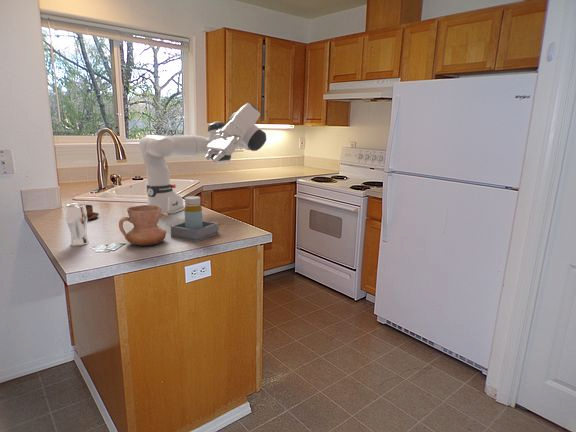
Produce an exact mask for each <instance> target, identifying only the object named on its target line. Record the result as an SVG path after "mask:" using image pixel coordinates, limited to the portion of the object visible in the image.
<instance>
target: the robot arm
mask: <svg viewBox="0 0 576 432" xmlns="http://www.w3.org/2000/svg"><path fill="white" fill-rule="evenodd" d="M260 116H261V112H260V110H259V109H258V108H257V107H256V106H254V105H253V104H252V103H249V102H246V103H245V104H244V105H242V106H241V107H240V108H239V109H238V110H237V111H235V112H233V113H232V114H231V115H230V117H229V118H228V119H227V122H226V123H225V122H222V121H214V122H212V123H209V124H208V126H207V133H208V137H206V136H202V135H195V134H194V135H191V134H190V135H187V134H184V135H183V134H182V135H181V134H180V135H179V134H178V135H174V134H173V135H157V134H155V135H154V134H147V135H145V136H144V137H142V138H141V139H140V140H139V144H138V147H139V149H140V151H141V154H142V158H143V162H144V165H145V170H146V183H147V184H146V193H147V198H146V199H147V200H146V201H147V202H146V205H158V206H160V207H161V214H162V213H167V214H175V213H178V212H180V211H184V208H185V204H184V200H183V197H182V196H181V195H179V194H178V193H177V192H175V191H174V189H176V188H177V185H176V184H174V183H172V184H171V180H170V169H169V166H168V164H167V161H166V159H171V158H172V159H173V158H180V157H181V158H182V157H184V158H185V157H199V156H204V155H205V156H204V159H205V160H206V161H209V160H210V159H211V160H212V161H213V162H214V163H218V164H224V163H228V162H230V160H231V159H232V154H233V153H234V152H235V151H236V150H237V149H244V150H247V151H253V152H257V151H259V150H260V149H262V148H263V146H264V145H265V143H266V141H267V133H266V132H265V131H263V130H262V129H260V128H259V127H258V126H257V125H256V123H257V121H258V120H259V118H260Z"/></svg>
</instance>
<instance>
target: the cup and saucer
mask: <svg viewBox="0 0 576 432" xmlns="http://www.w3.org/2000/svg"><path fill="white" fill-rule="evenodd" d="M85 206H86V211H87V221H90V220H93V219H94V220H95V219H96V218H97V217H99V216H100V215H99V212H94V210H93V209H94V208H93V205H92V204H85Z"/></svg>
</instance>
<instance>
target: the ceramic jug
mask: <svg viewBox="0 0 576 432" xmlns="http://www.w3.org/2000/svg"><path fill="white" fill-rule="evenodd" d="M126 211H127V214H128V216H124V217H121V218H120V220H119V221H118V228H119V231H120V232H121V234H122V235H123V236H124V238H125V240H126V241H127V242H128V243H129V244H132V245H134V246H139V247H145V246H146V247H148V246H155V245H158V244H159V243H161V242H163V241H164V240H165V239H166V236H167V235H166V234H167V230H165V229H164V228H162V227H160V226H159V225H158V223H159V222H160V221H159V220H160V219H161V218H163V217H168V214H169V213H162V214H161V207H160V206H158V205H147V204H141V205H135V206H129V207H128V208H127V210H126ZM124 222H129V223H130V224H132V225H133V227H132V228H131V229H130V230H129V231H128V232H126V231H125V229H124V227H123V226H124Z"/></svg>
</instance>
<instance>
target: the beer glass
mask: <svg viewBox="0 0 576 432" xmlns="http://www.w3.org/2000/svg"><path fill="white" fill-rule="evenodd" d="M85 205H86V203H71V204H67V205H65V217H66V218H65V219H66V222H67V223H66V224H67V226H68V229H69V233H70V235H71V237H70V245H71V246H73V247H74V246H75V247H76V246H77V247H81V246H85V245H88V244H90V241H89V238H88V233H87V232H88V231H87V228H88V220H87V211H86V206H85Z"/></svg>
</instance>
